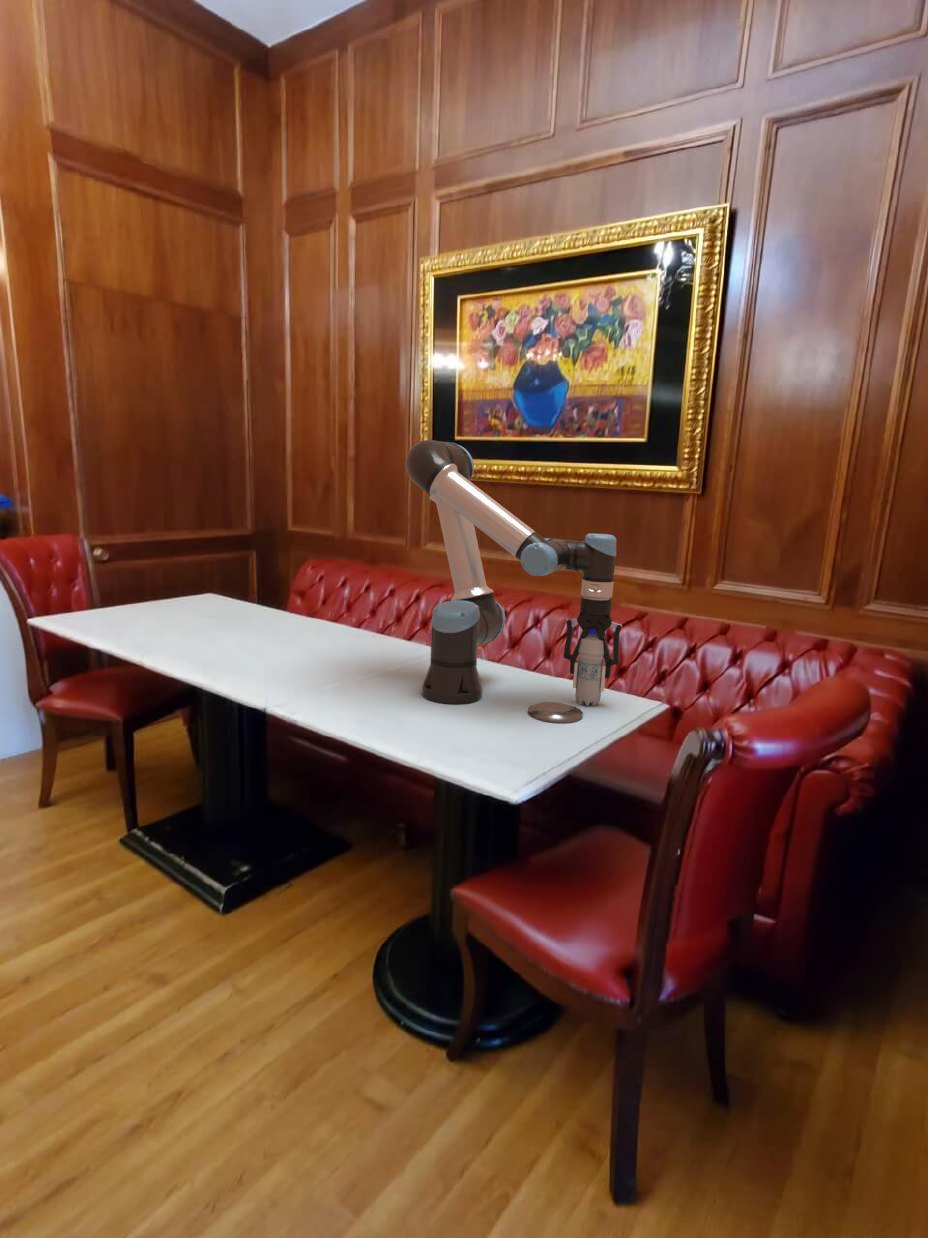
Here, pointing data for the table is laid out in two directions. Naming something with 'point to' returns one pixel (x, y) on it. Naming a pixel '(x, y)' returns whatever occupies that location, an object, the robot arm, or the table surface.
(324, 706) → the table surface
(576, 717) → the flange disc
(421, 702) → the table surface
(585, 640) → the bottle
